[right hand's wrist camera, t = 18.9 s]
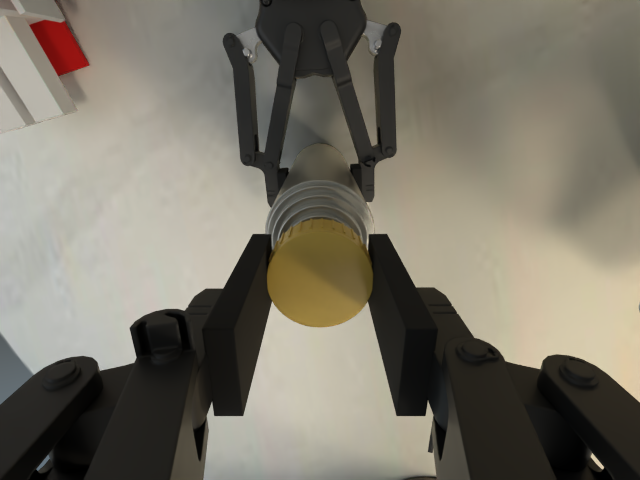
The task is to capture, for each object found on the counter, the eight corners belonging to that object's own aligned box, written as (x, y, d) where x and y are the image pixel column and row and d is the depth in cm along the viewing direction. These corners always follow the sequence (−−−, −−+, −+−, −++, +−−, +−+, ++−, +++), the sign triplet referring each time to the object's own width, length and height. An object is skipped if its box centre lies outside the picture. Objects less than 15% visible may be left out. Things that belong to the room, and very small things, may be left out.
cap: (275, 210, 14) (269, 222, 12) (378, 225, 14) (386, 238, 12) (266, 301, 15) (260, 322, 14) (359, 313, 15) (363, 334, 14)
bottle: (345, 141, 36) (392, 199, 12) (348, 195, 38) (393, 332, 14) (290, 145, 36) (235, 211, 12) (296, 199, 38) (258, 341, 14)
